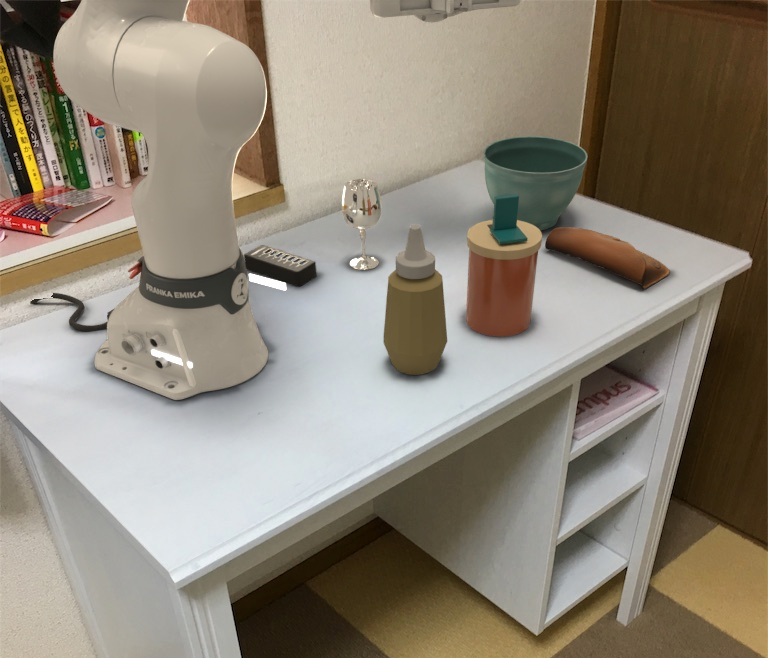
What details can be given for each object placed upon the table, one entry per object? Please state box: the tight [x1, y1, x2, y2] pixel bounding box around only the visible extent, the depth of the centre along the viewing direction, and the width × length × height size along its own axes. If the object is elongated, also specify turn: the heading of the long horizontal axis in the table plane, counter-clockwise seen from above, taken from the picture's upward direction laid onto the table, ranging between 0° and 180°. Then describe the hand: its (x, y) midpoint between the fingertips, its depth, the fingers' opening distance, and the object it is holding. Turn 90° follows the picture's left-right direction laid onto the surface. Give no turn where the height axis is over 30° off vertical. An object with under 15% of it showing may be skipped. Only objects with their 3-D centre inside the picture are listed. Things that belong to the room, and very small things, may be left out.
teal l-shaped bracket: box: [490, 194, 528, 244], centre depth 101 cm, size 4×4×4 cm
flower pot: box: [482, 135, 588, 231], centre depth 131 cm, size 16×16×11 cm
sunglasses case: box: [544, 226, 671, 290], centre depth 122 cm, size 18×7×7 cm
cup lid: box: [466, 219, 543, 260], centre depth 104 cm, size 9×9×1 cm
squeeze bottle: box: [383, 224, 448, 376], centre depth 98 cm, size 8×8×18 cm
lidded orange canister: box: [465, 247, 539, 338], centre depth 108 cm, size 9×9×11 cm
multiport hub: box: [243, 244, 318, 288], centre depth 123 cm, size 4×11×2 cm, turn 54°
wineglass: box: [341, 178, 382, 271], centre depth 121 cm, size 6×6×12 cm
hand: (461, 4), depth 102 cm, fingers closed
